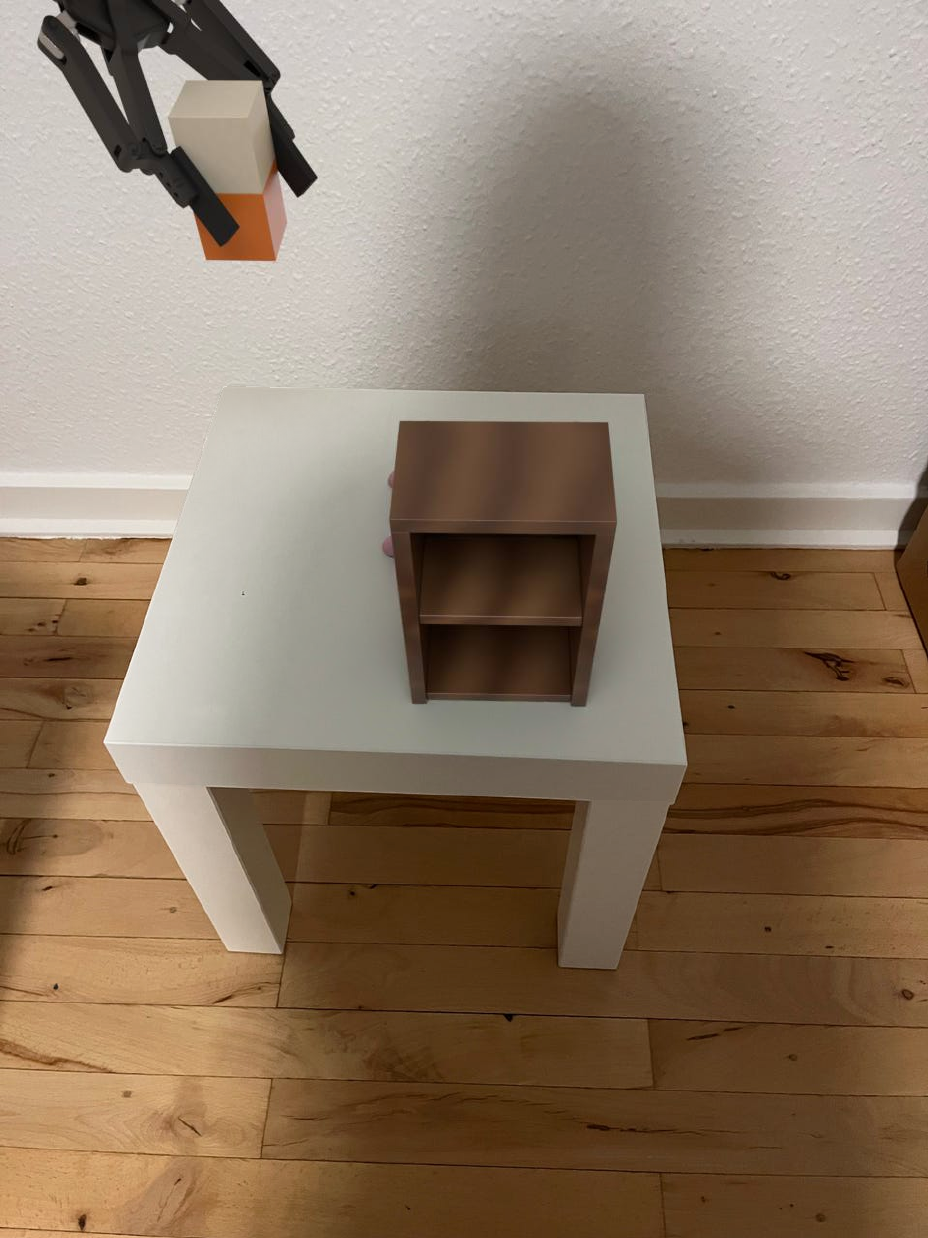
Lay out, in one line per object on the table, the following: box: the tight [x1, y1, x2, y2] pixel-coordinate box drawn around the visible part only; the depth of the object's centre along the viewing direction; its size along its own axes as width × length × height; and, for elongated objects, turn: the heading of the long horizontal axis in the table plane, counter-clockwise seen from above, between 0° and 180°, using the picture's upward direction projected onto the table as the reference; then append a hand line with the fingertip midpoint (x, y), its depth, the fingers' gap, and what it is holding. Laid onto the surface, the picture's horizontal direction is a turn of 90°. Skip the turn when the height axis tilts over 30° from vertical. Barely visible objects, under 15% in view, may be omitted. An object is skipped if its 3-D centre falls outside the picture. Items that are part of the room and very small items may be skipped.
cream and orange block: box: [167, 79, 288, 262], centre depth 70 cm, size 6×6×11 cm
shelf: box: [388, 420, 618, 708], centre depth 68 cm, size 14×9×22 cm, turn 88°
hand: (269, 211), depth 70 cm, fingers closed on cream and orange block, 8 cm apart
